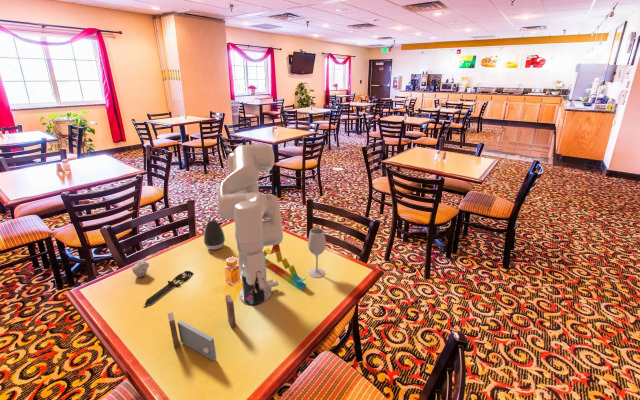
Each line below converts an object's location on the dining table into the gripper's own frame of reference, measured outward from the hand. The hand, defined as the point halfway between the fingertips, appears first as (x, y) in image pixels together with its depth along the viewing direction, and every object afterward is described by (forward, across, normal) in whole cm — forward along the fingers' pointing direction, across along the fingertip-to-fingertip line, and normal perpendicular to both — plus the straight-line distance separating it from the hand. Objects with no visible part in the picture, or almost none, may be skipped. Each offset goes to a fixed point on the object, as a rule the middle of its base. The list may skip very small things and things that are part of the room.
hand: (254, 293), depth 99 cm
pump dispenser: (+20, -72, +5) cm, 74 cm away
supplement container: (+3, 0, 0) cm, 3 cm away
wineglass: (+20, -25, +37) cm, 49 cm away
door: (+19, -6, -18) cm, 27 cm away
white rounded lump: (+20, -62, -30) cm, 72 cm away
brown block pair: (+20, -13, -14) cm, 27 cm away
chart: (+20, -32, +23) cm, 45 cm away
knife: (+21, -46, -21) cm, 55 cm away
